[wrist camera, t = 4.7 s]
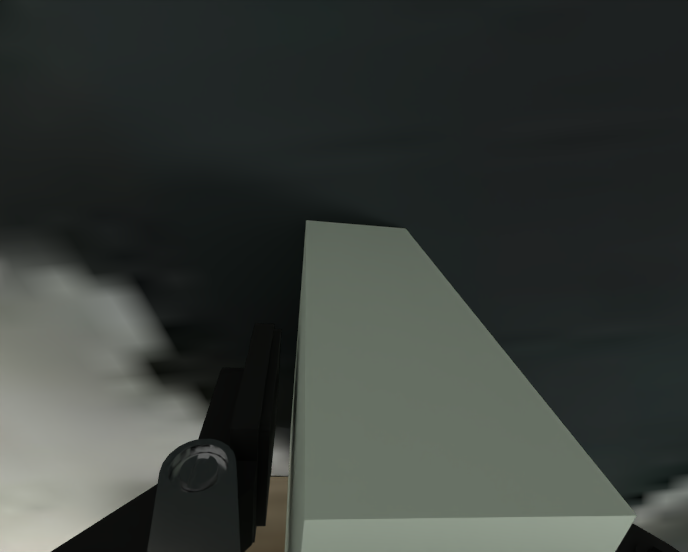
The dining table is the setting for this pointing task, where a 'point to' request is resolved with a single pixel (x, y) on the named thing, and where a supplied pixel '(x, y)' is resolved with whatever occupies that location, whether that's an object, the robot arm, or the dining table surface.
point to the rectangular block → (423, 419)
